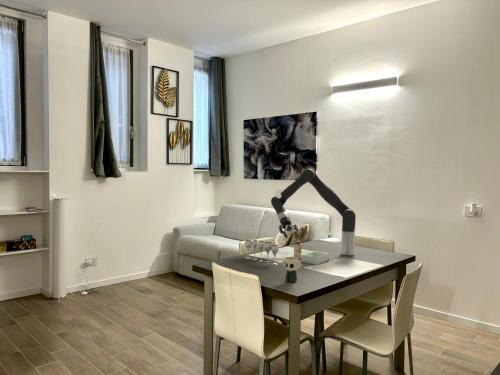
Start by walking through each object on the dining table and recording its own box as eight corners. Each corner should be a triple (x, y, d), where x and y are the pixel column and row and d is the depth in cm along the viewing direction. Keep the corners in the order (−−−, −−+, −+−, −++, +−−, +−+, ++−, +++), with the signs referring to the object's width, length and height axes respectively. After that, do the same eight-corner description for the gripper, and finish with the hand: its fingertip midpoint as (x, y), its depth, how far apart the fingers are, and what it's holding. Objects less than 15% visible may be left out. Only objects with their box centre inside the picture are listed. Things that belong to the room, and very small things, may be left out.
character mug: (279, 281, 218) (279, 257, 217) (285, 278, 224) (286, 255, 223) (297, 284, 212) (297, 260, 211) (302, 281, 218) (303, 258, 217)
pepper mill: (296, 257, 279) (296, 240, 278) (302, 258, 276) (303, 241, 275) (292, 258, 275) (292, 241, 274) (298, 259, 272) (299, 242, 271)
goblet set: (280, 263, 259) (280, 243, 258) (274, 265, 254) (275, 244, 254) (247, 256, 277) (248, 238, 276) (242, 258, 273) (242, 238, 272)
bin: (313, 257, 280) (314, 250, 280) (329, 259, 273) (329, 253, 272) (301, 261, 265) (301, 255, 265) (317, 264, 258) (317, 257, 258)
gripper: (277, 216, 286) (285, 234, 276) (294, 215, 292) (302, 233, 282) (274, 222, 291) (281, 240, 281) (290, 222, 297) (298, 239, 287)
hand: (291, 237), depth 282 cm, fingers open, 8 cm apart
